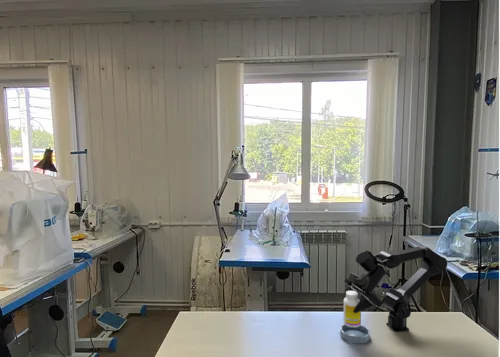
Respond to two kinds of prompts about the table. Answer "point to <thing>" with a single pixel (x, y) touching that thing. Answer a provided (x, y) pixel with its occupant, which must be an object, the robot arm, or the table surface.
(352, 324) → the supplement bottle
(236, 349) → the table surface
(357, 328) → the round tray
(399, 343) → the table surface
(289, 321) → the table surface
